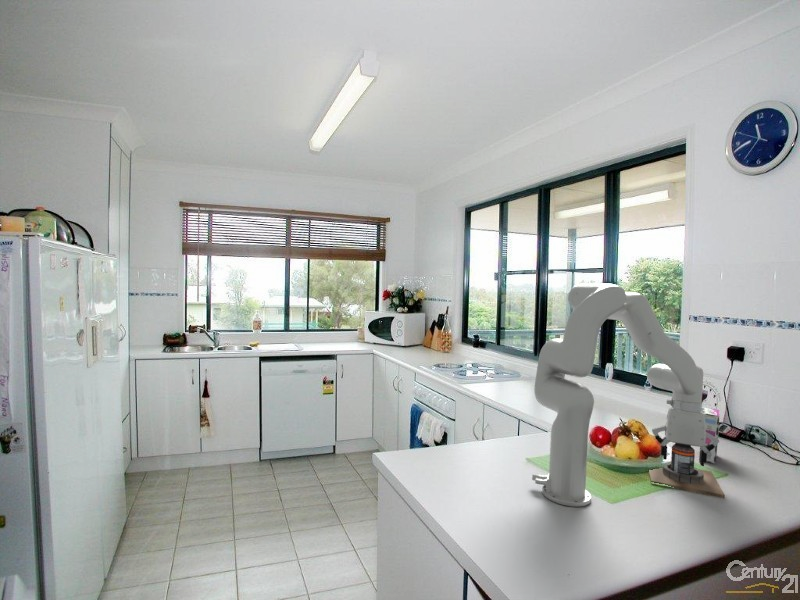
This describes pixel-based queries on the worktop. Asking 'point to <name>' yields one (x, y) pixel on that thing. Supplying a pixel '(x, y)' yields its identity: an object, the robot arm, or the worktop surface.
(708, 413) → the candy bar box
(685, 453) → the supplement bottle
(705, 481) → the collar board
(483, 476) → the worktop surface
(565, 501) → the robot arm
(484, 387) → the worktop surface
